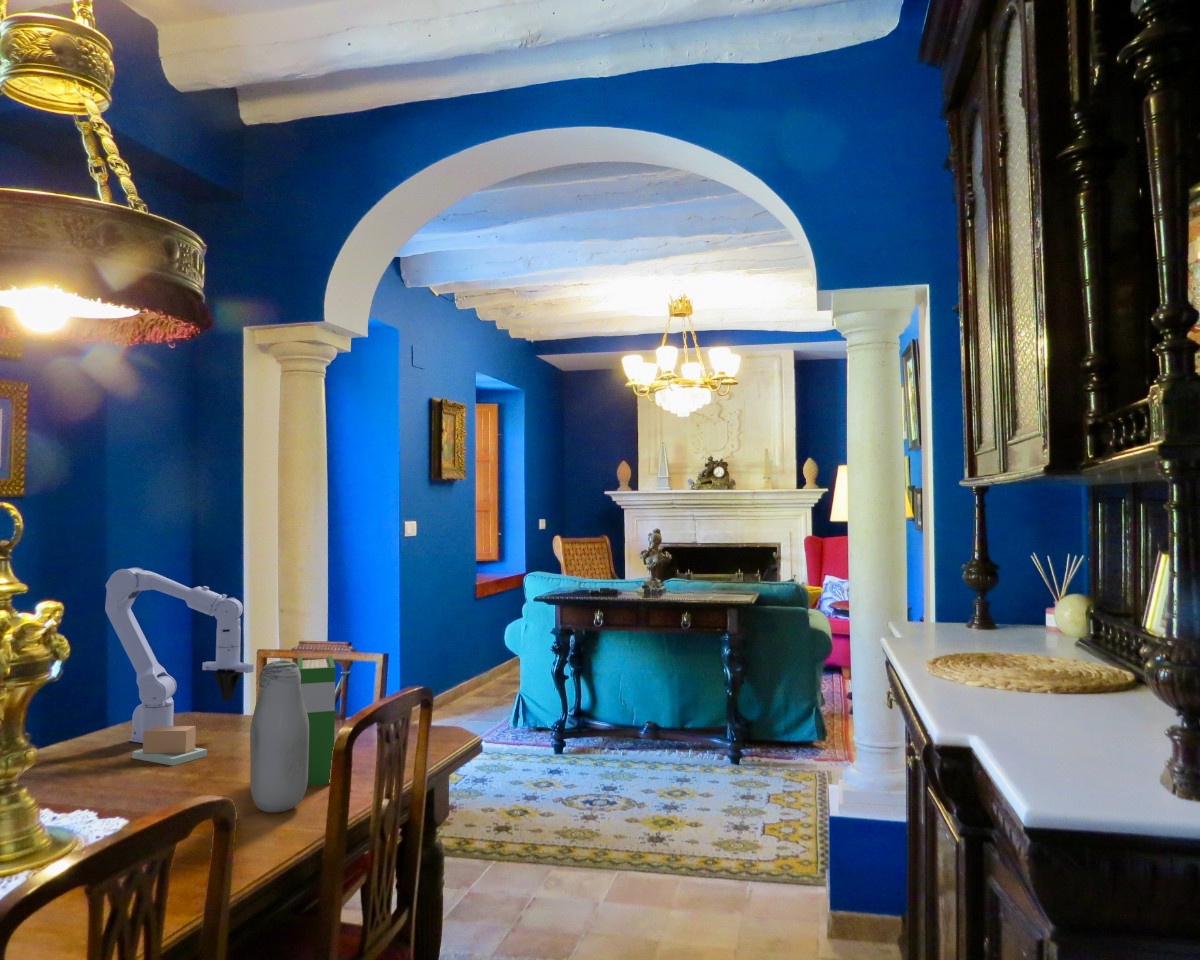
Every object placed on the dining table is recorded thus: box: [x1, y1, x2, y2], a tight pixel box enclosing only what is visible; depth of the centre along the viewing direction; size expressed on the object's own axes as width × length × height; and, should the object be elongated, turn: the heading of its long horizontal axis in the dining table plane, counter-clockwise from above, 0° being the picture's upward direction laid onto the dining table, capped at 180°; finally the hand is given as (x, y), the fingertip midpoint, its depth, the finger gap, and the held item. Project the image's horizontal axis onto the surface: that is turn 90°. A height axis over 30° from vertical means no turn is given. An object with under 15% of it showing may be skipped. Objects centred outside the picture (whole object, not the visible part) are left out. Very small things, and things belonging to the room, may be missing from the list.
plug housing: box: [142, 725, 197, 753], centre depth 199 cm, size 10×5×5 cm, turn 91°
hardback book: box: [297, 655, 336, 787], centre depth 186 cm, size 18×7×24 cm, turn 20°
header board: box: [131, 746, 208, 766], centre depth 199 cm, size 14×9×4 cm, turn 64°
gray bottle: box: [249, 660, 309, 814], centre depth 162 cm, size 10×10×28 cm
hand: (227, 699), depth 218 cm, fingers closed
